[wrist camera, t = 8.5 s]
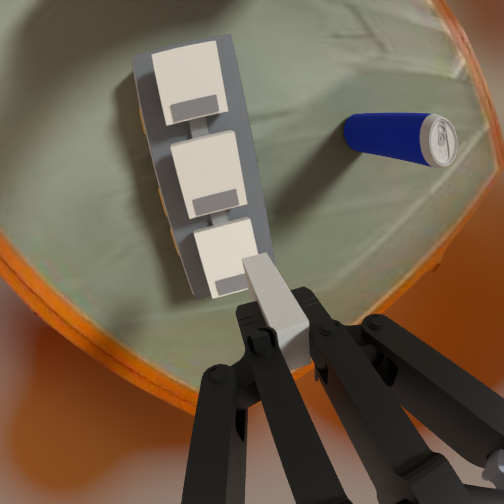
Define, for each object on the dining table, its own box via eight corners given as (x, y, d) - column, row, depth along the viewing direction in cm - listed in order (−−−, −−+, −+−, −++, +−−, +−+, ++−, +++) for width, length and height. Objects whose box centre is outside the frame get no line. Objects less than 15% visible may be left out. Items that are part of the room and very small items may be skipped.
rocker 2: (171, 143, 23) (170, 147, 21) (230, 129, 24) (234, 132, 22) (188, 209, 27) (189, 219, 25) (242, 196, 28) (247, 204, 26)
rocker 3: (194, 229, 28) (193, 233, 26) (246, 216, 29) (250, 219, 26) (211, 290, 30) (212, 299, 28) (260, 277, 31) (265, 284, 28)
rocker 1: (153, 57, 19) (151, 54, 17) (212, 44, 20) (215, 40, 18) (167, 123, 23) (166, 126, 21) (224, 109, 24) (228, 111, 22)
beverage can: (374, 149, 33) (459, 167, 19) (344, 153, 32) (429, 172, 19) (369, 113, 31) (456, 115, 17) (338, 115, 30) (424, 113, 17)
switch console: (135, 66, 23) (126, 55, 19) (225, 45, 24) (231, 32, 20) (191, 283, 35) (192, 303, 31) (268, 262, 36) (278, 279, 32)
